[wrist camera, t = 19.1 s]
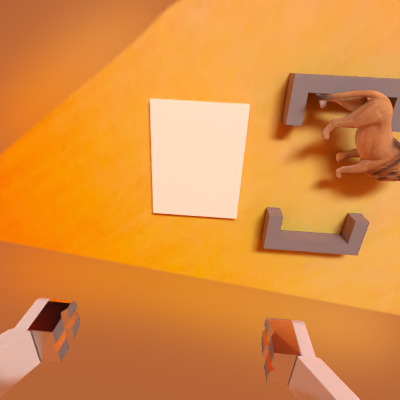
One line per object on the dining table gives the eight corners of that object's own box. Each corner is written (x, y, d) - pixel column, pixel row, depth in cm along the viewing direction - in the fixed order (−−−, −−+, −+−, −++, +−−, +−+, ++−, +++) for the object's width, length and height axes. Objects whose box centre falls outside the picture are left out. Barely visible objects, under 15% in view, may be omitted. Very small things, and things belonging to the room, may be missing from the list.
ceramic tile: (249, 103, 28) (250, 104, 28) (236, 216, 34) (236, 218, 33) (151, 98, 28) (149, 98, 28) (154, 210, 34) (153, 212, 34)
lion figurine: (345, 169, 32) (425, 155, 28) (344, 198, 30) (431, 189, 26) (312, 82, 25) (412, 45, 21) (307, 111, 23) (419, 77, 19)
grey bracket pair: (407, 79, 26) (421, 80, 25) (350, 245, 35) (357, 255, 33) (289, 73, 27) (295, 73, 25) (261, 239, 35) (263, 248, 33)
